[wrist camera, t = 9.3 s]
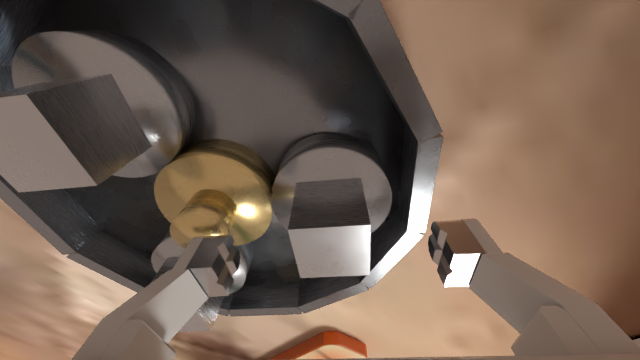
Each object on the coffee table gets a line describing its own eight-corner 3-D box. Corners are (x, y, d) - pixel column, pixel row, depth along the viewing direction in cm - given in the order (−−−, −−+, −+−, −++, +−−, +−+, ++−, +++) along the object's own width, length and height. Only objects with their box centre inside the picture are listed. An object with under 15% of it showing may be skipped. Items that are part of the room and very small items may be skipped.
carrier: (453, -137, 8) (683, -423, 3) (401, 275, 20) (425, 358, 15) (-119, -31, 10) (-598, -87, 5) (155, 286, 22) (106, 364, 17)
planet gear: (386, 126, 12) (419, 187, 7) (381, 217, 15) (402, 293, 11) (266, 138, 12) (235, 200, 8) (288, 222, 15) (274, 297, 11)
